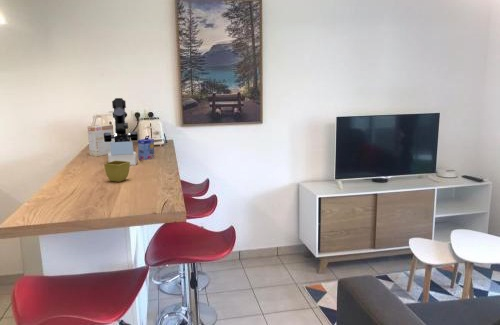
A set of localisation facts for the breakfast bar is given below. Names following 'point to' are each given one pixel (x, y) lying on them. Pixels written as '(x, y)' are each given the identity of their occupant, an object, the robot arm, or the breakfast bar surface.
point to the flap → (121, 148)
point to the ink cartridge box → (146, 148)
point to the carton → (123, 158)
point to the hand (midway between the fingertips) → (121, 148)
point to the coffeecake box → (99, 139)
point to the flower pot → (117, 170)
